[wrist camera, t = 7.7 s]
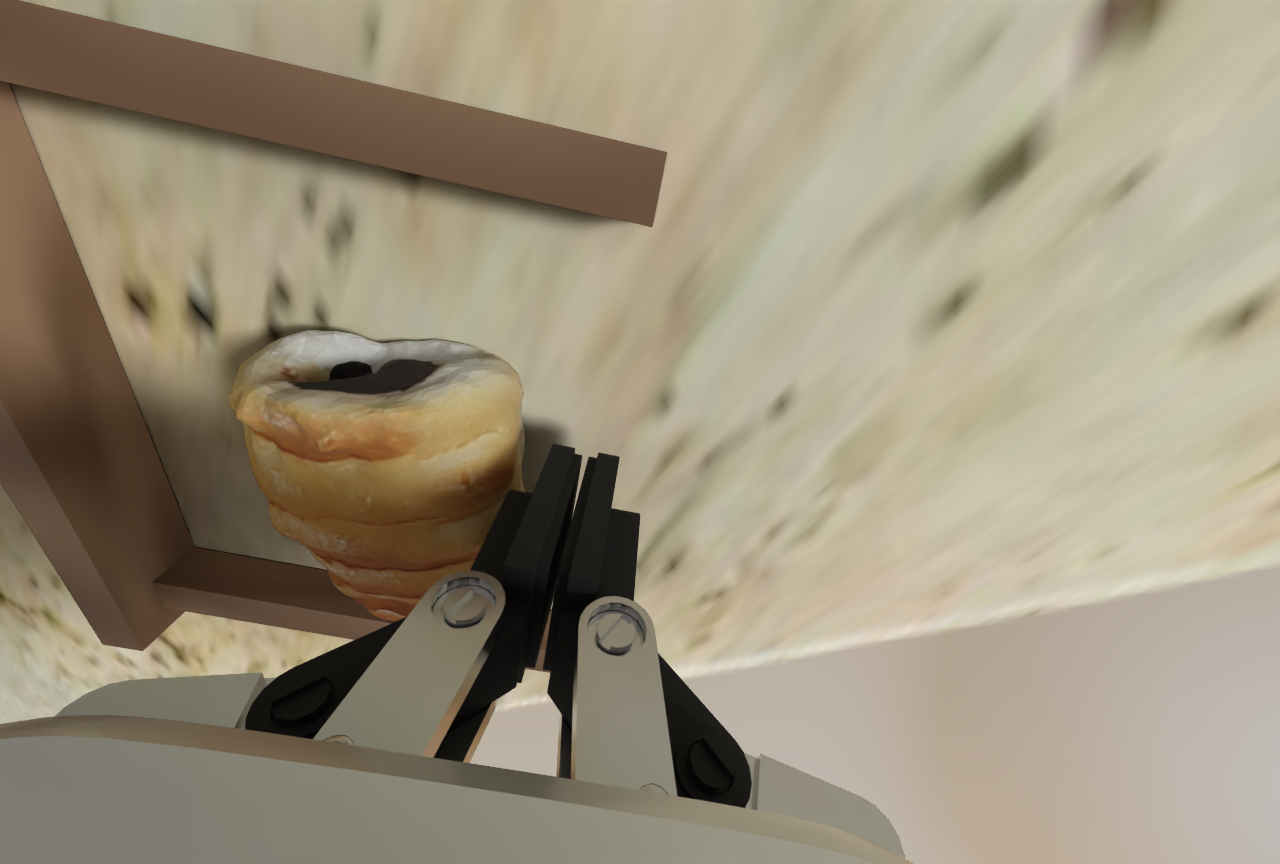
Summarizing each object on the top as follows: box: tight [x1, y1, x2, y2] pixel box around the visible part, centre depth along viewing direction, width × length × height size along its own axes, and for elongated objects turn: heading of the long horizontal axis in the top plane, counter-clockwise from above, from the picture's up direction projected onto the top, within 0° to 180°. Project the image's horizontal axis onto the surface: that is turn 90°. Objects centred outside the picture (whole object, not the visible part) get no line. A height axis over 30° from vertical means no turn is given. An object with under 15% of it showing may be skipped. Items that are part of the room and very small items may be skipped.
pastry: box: [228, 330, 526, 621], centre depth 12 cm, size 9×7×4 cm
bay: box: [0, 0, 667, 673], centre depth 12 cm, size 17×14×2 cm
